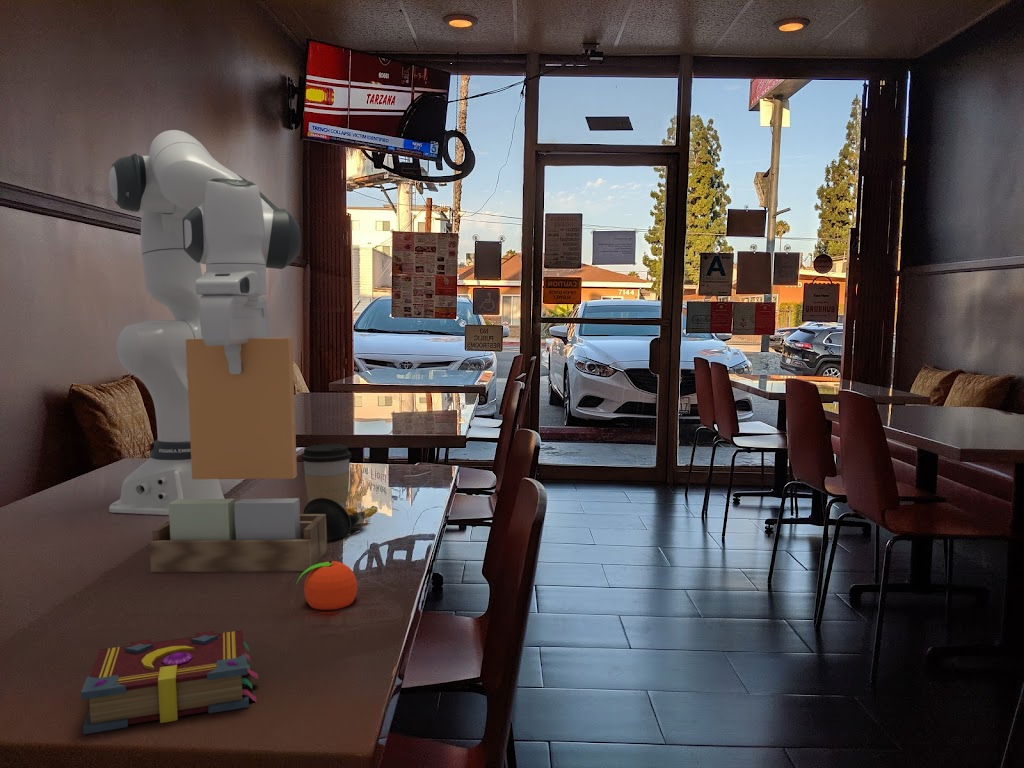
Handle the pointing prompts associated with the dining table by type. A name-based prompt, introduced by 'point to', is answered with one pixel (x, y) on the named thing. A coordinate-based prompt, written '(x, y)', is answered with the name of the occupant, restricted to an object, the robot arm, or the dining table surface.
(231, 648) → the decorative book
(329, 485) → the coffee cup
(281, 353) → the tall sheet
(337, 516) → the fried shrimp in bowl
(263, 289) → the robot arm
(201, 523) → the offcut sage
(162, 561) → the rack
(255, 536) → the offcut slate
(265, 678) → the dining table surface
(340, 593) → the clementine
